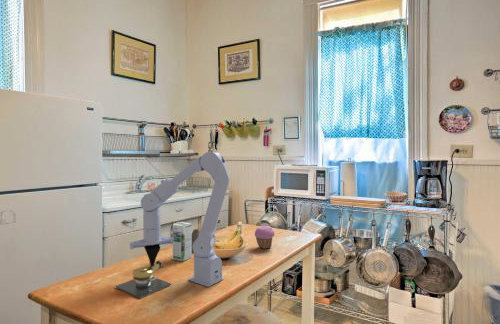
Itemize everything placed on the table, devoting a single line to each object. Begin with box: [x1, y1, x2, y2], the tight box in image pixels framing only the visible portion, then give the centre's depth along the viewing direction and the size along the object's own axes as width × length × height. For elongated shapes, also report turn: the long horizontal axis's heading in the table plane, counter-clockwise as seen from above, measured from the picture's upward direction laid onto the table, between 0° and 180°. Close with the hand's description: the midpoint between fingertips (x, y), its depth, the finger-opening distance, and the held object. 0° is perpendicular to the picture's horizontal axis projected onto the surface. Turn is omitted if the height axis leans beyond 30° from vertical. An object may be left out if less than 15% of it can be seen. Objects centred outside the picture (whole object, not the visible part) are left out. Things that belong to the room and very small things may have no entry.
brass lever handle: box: [132, 260, 163, 280], centre depth 110 cm, size 12×6×2 cm, turn 159°
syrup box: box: [172, 221, 193, 262], centre depth 134 cm, size 6×6×14 cm
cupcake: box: [254, 225, 275, 250], centre depth 149 cm, size 9×9×10 cm
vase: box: [192, 228, 200, 251], centre depth 147 cm, size 7×7×9 cm
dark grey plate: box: [114, 276, 172, 300], centre depth 108 cm, size 13×12×3 cm
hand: (152, 266), depth 115 cm, fingers closed
